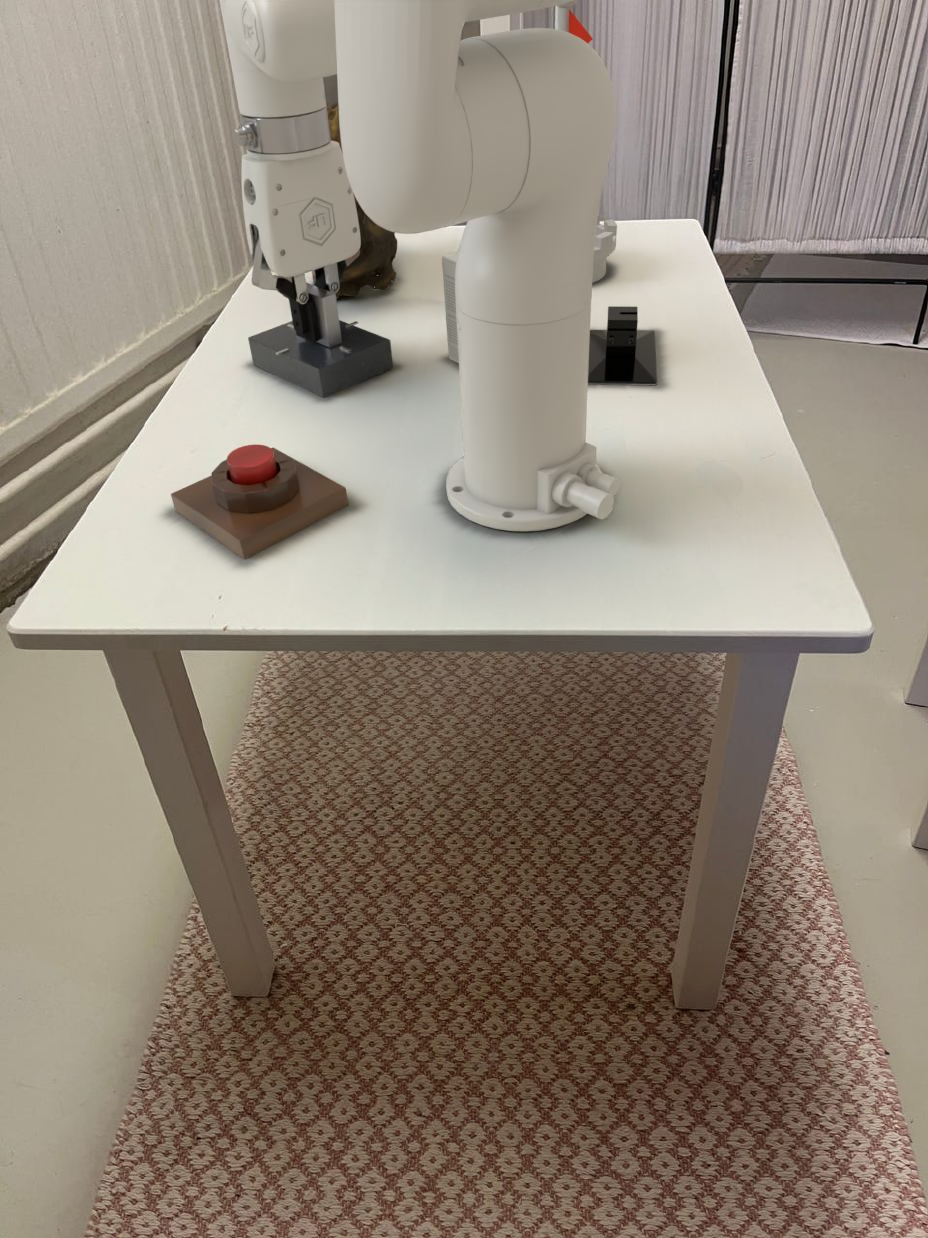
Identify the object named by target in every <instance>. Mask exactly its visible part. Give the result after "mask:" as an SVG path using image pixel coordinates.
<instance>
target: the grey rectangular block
mask: <svg viewBox="0 0 928 1238" xmlns="http://www.w3.org/2000/svg"><path fill="white" fill-rule="evenodd" d="M306 285H307V290H308V297H309V298H308V299H309V300H310V301H312V302H314V304H315V310H316V317H317V323H318V330H319V336H320V338H319V341H317V343H320V344H322V345H324V346H326V347H329V348H331V347H334V346H336V345H339V344H341V343H342V338H341V331H340V323H339V320H340V317H339V309H338V303H337V302H338V301H337V299H336V294H335V293H332V292H330V291H327V290H325V289H322V288H319V287H317V286H314V284H311V283H309V282H306ZM294 331H295V329H294ZM295 333H296V331H295Z"/></svg>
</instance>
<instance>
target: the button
mask: <svg viewBox="0 0 928 1238" xmlns="http://www.w3.org/2000/svg"><path fill="white" fill-rule="evenodd" d="M271 448H272V447H269V446H267V445H266V444H265V445H264V444H247V445H243V446H240V447H237V448H235V449H233V450H232V451H230V453H229V454H228V455H227V457H226V460H227V463H228V467H229V471H230V476H231V480H232V481H233V482H234V483H235V484H239V485H254V484H260V483H264V482H266V481H268V480H270V479H272V478H274V477H275V476H276V475H277V467H276V462H275V457H274V452H273V450H272V449H271Z"/></svg>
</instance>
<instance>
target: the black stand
mask: <svg viewBox="0 0 928 1238" xmlns="http://www.w3.org/2000/svg"><path fill="white" fill-rule="evenodd" d="M638 312H639V311H638V306H610V305H609V306H607V323H606V329H590V341H589V366H588V385H630V386H631V385H635V386H637V385H639V386H640V385H641V386H656V385H657V384H658V378H657V377H658V376H657V358H656V357H657V356H656V355H657V354H656V338H655V337H656V335H655V330H653V329H651V330H650V329H638V323H639V318H638Z"/></svg>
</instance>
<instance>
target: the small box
mask: <svg viewBox="0 0 928 1238" xmlns="http://www.w3.org/2000/svg"><path fill="white" fill-rule="evenodd" d="M457 256H458V251H455V252H453V253H449V254H445V255H442V257H441V266H442V279H443V280H442V281H443V294H444V310H445V325H446V339H447V352H448V353H447V355H448V359H449V360H451V361H453V362H455V363H457V364H458V365H459V355H458V337H457V319H456V297H455V269H456V261H457Z"/></svg>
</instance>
